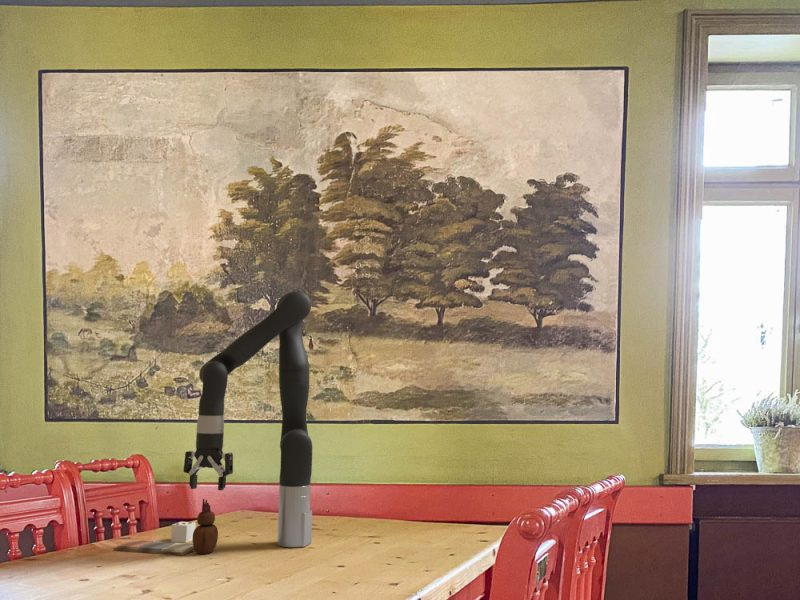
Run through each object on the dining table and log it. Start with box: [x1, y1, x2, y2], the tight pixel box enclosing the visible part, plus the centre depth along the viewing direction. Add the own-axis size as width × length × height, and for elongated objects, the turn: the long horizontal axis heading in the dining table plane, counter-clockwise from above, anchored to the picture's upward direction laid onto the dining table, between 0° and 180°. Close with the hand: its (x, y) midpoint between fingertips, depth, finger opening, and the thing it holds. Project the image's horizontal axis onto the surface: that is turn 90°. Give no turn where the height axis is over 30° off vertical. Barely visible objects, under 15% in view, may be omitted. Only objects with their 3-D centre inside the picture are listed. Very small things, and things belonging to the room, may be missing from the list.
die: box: [170, 521, 197, 543], centre depth 206 cm, size 5×5×5 cm
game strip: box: [113, 539, 196, 557], centre depth 195 cm, size 22×9×1 cm, turn 77°
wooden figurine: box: [192, 498, 219, 555], centre depth 192 cm, size 7×6×15 cm
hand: (207, 489), depth 193 cm, fingers open, 8 cm apart
